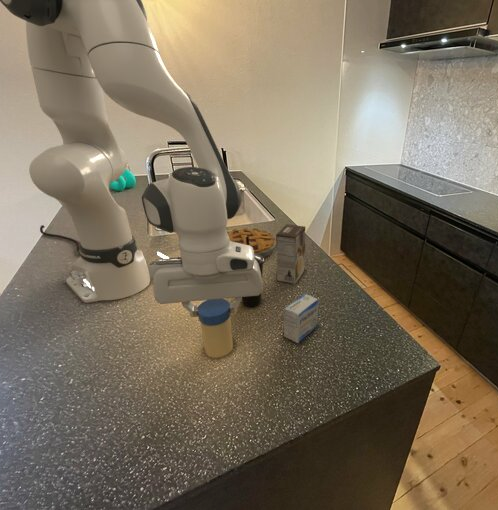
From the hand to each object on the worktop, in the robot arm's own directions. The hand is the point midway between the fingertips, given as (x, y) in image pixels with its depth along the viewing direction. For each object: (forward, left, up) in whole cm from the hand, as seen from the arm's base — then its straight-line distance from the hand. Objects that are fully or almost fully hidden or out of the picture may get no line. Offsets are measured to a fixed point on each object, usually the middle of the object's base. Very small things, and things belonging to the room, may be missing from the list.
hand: (215, 313), depth 65 cm
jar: (0, 0, -10) cm, 10 cm away
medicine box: (+13, +14, -10) cm, 21 cm away
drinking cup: (-5, +17, -10) cm, 20 cm away
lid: (0, 0, +1) cm, 1 cm away
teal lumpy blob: (-128, +60, -10) cm, 142 cm away
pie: (-28, +41, -10) cm, 51 cm away
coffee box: (-4, +35, -10) cm, 36 cm away
